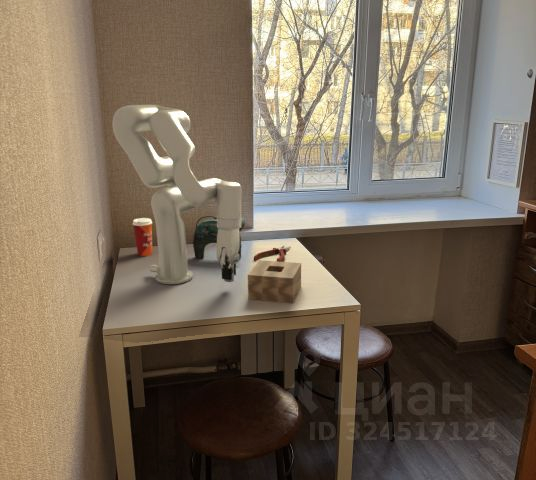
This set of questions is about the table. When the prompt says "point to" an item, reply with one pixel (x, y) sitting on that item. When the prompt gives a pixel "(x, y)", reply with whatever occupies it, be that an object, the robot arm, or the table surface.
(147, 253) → the paper cup
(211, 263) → the table surface
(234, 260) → the grey metal rounded piece
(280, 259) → the pliers
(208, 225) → the ceramic cat
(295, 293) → the socket block
